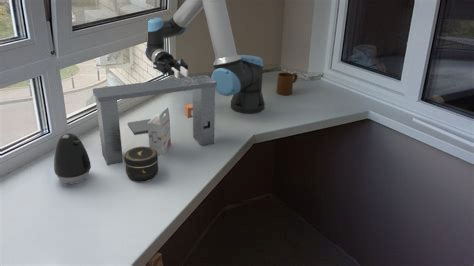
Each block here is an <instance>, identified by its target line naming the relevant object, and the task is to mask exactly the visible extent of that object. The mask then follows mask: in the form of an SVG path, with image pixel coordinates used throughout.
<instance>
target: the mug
mask: <svg viewBox="0 0 474 266" xmlns="http://www.w3.org/2000/svg"><path fill="white" fill-rule="evenodd" d="M297 80H298V74H297V73H295V72H293V73H290V72H279V73H277V83H276V93H277V94H278V95H280V96H290V95H292V93H293V89H294V88H293V86H294V84H295V83H296V82H297Z"/></svg>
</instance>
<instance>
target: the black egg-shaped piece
mask: <svg viewBox="0 0 474 266" xmlns="http://www.w3.org/2000/svg"><path fill="white" fill-rule="evenodd" d="M53 156H54V159H53V170H54V174H55V175H56V176H57V179H59V180H60V181H61V182H63V183H66V184H71V185H73V184H78V183H81V182H83V181H84V180H86V179H87V177H88V176H89V174H90V170H91V167H92V166H91V160H90V157H89V154H88V152H87V150H86V147H85V146H84V144H83V142H82V140H81V139H80V137H78V136H77V135H76V134H74V133H71V132H66V133H63V134H61V136H60V137H59V139H58V140H57V143H56V145H55V149H54V155H53Z"/></svg>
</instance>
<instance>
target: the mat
mask: <svg viewBox="0 0 474 266" xmlns="http://www.w3.org/2000/svg"><path fill="white" fill-rule="evenodd" d="M151 119H152V118H149V119H142V120H141V119H140V120H135V121H129V122H127V126H128V128H129V130H130V131H131V132H132V134H133V135H134V136H137V135H142V134H146V133H147V134H148V124H147V123H148V122H149V121H150V120H151Z"/></svg>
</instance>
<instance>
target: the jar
mask: <svg viewBox="0 0 474 266" xmlns="http://www.w3.org/2000/svg"><path fill="white" fill-rule="evenodd" d="M158 156H159V155H157V151H156V150H155V149H153V148H150V147H149V146H135V147H131V148H129V149H128V150H126V152H125V153H124V156H123V163H124V166H125V174H126V176H127V178H128V179H130V180H131V181H133V182H135V183H137V182H138V183H145V182H149V181H151V180H154V179H155V178H156V177H157V174H158V172H159V171H158V170H159V160H158V159H159V157H158Z"/></svg>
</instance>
